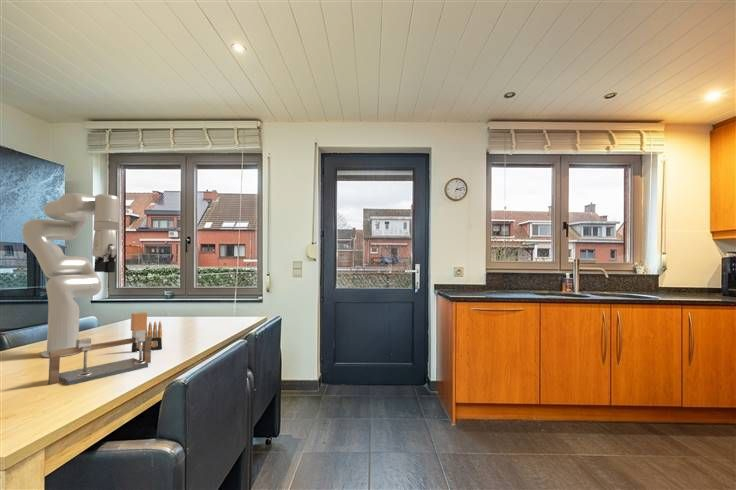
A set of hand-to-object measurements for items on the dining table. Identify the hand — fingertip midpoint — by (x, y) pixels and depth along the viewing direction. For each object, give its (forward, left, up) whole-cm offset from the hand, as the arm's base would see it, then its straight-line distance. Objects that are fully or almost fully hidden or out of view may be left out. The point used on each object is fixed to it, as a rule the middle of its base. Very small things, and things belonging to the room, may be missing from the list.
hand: (104, 272), depth 130 cm
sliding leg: (+17, +6, -31) cm, 36 cm away
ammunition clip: (-3, +17, -34) cm, 38 cm away
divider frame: (+16, -4, -33) cm, 37 cm away
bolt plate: (+16, -4, -33) cm, 37 cm away
